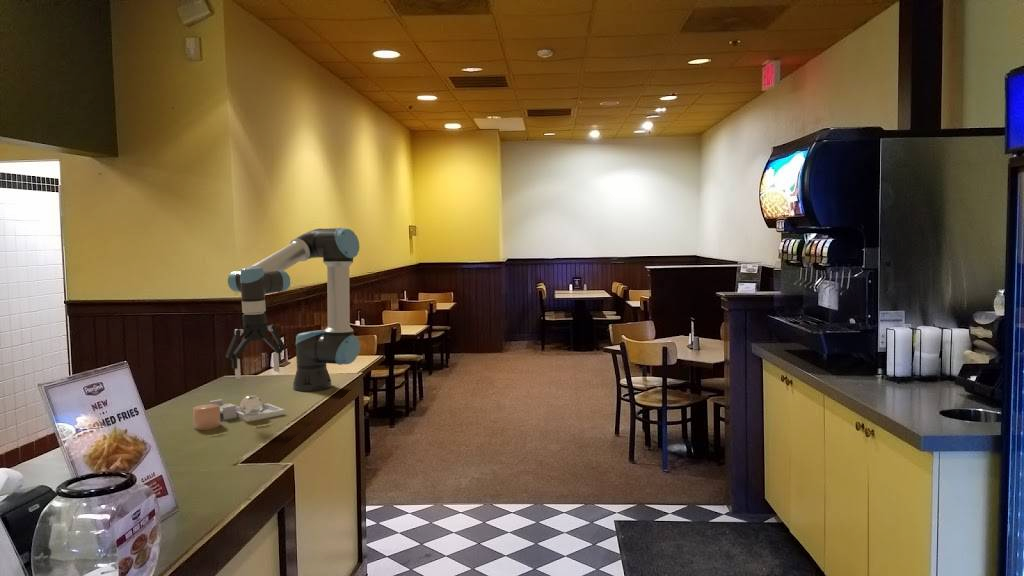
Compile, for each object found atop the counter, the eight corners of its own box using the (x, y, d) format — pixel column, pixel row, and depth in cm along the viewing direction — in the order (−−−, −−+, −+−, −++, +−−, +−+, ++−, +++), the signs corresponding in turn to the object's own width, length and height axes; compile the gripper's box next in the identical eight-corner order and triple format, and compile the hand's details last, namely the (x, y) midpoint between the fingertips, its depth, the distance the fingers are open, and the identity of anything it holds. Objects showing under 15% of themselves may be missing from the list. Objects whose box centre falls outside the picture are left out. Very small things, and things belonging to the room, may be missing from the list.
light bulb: (273, 415, 245) (257, 412, 233) (254, 420, 245) (237, 417, 234) (271, 396, 247) (254, 391, 235) (252, 400, 247) (235, 396, 235)
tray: (268, 410, 252) (268, 403, 252) (285, 416, 243) (284, 409, 243) (232, 417, 244) (231, 409, 243) (248, 424, 234) (247, 416, 234)
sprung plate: (230, 406, 249) (230, 403, 249) (241, 410, 243) (241, 407, 242) (204, 410, 243) (204, 407, 243) (214, 415, 236) (214, 412, 236)
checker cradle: (229, 411, 251) (228, 397, 251) (245, 418, 241) (245, 404, 241) (200, 416, 245) (199, 402, 244) (216, 424, 234) (215, 409, 234)
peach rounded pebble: (215, 423, 235) (214, 403, 235) (224, 428, 229) (223, 407, 229) (190, 428, 230) (189, 407, 229) (199, 433, 224) (198, 411, 223)
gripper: (283, 308, 252) (287, 367, 254) (212, 316, 235) (216, 379, 237) (293, 310, 246) (296, 370, 248) (221, 318, 229) (225, 382, 231)
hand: (257, 374), depth 243 cm, fingers open, 13 cm apart
